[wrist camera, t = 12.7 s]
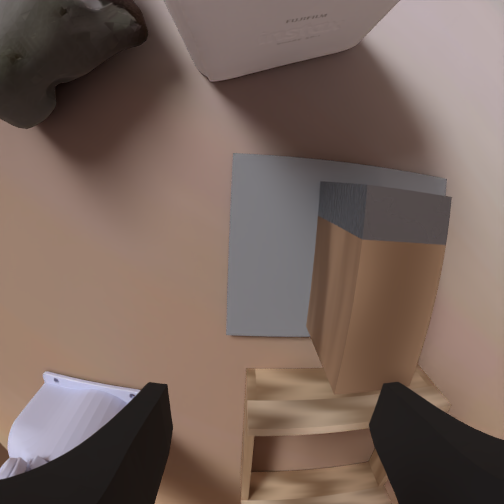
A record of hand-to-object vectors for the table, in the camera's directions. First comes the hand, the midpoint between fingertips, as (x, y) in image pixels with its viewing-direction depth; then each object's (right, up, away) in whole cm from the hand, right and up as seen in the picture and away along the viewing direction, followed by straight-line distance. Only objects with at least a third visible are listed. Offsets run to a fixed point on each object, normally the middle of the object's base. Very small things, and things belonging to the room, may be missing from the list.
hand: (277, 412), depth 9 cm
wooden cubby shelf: (+5, -9, +13) cm, 17 cm away
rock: (-16, +22, +5) cm, 28 cm away
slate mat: (+5, +5, +10) cm, 12 cm away
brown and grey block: (+5, +5, +9) cm, 11 cm away
